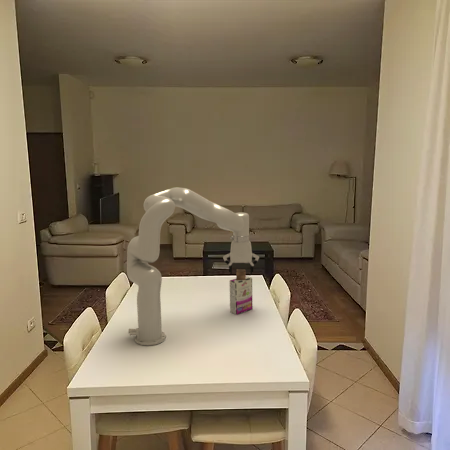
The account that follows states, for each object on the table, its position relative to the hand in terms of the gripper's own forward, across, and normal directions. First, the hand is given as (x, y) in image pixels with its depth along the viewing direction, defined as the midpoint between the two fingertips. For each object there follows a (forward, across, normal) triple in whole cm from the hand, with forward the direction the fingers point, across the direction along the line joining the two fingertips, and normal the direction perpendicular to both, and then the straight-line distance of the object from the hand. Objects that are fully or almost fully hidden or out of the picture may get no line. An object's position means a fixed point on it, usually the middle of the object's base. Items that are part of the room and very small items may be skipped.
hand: (241, 273), depth 194 cm
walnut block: (+3, 0, 0) cm, 3 cm away
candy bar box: (+19, 0, 0) cm, 19 cm away
